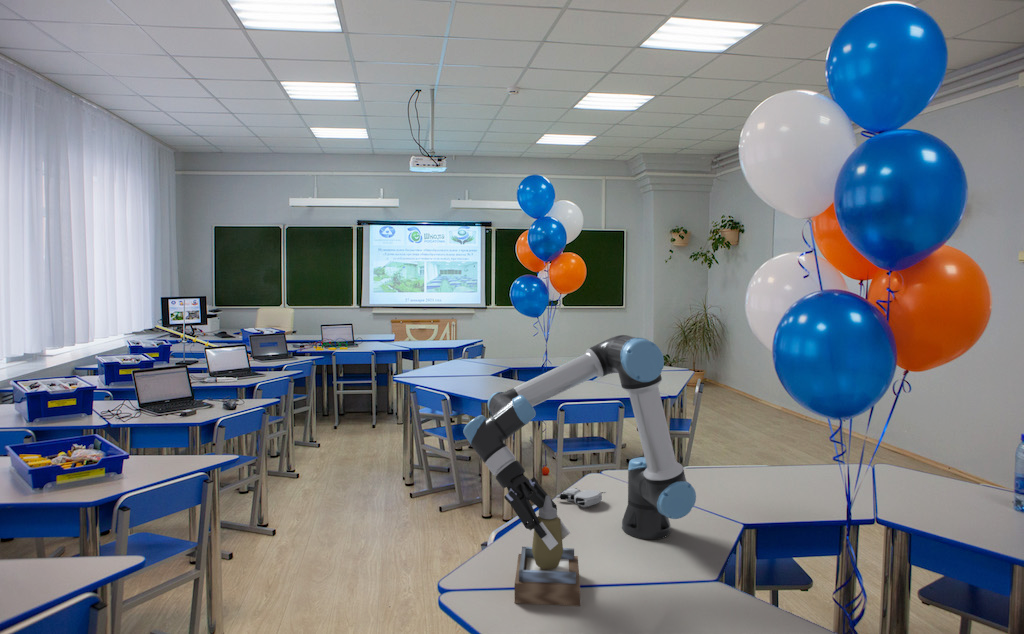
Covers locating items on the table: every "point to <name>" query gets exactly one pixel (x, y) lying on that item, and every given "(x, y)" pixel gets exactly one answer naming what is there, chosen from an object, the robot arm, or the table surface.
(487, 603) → the table surface
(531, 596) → the dock
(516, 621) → the table surface
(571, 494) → the robot toy
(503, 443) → the robot arm
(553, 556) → the squeeze bottle
